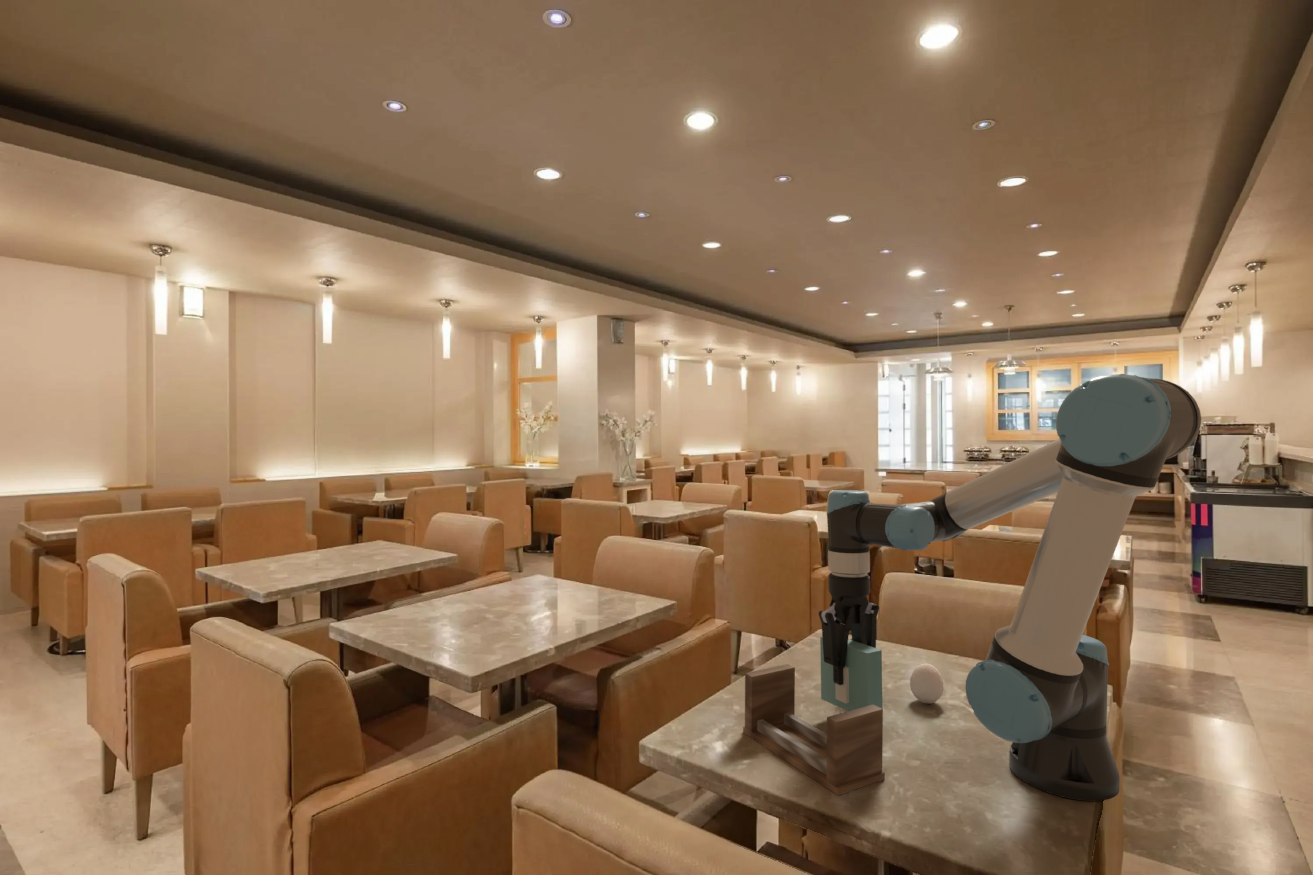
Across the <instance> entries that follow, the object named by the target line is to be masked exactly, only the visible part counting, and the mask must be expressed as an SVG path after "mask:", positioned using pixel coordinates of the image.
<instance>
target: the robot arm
mask: <svg viewBox="0 0 1313 875" xmlns="http://www.w3.org/2000/svg"><path fill="white" fill-rule="evenodd" d="M1201 425H1202V414H1201V410H1200V407H1199V404H1198V402H1197V401H1196V399H1195V397H1193V395H1192V394H1191V393H1190V392H1189V391H1188V390H1186V389H1185V388H1183V387H1182V386H1181V385H1179V384H1176V383H1174V382H1171V381H1169V380H1165V379H1159V378H1148V377H1145V376H1140V375H1139V376H1138V375H1136V374H1133V375H1132V374H1124V373H1117V374H1110V375H1102V376H1097V377H1094V378H1092V379H1088V380H1087V381H1084V382H1083V383H1080V384H1079V385H1077V386H1076V387H1075V388H1073V389H1072V390H1071V392H1069V393H1068V394H1067V396H1066V397H1065V398H1064V400H1063V401H1062V402H1061V404H1060V406H1059V408H1058V410H1057V415H1056V420H1055V428H1056V434H1057V436H1058V439H1055V440H1053V441H1052V442H1050V443H1047V444H1045V445H1042V446H1041V447H1039V448H1037V449H1035V450H1033V451H1030V452H1029V453H1026V454H1025V455H1024V454H1023V455H1022V456H1020V457H1018V458H1016V459H1014V460H1012V461H1009V462H1007V463H1005V464H1003V465H1001V466H1000V467H997V468H995V469H993V470H991V471H989V472H986V473H984V474H982V475H980V476H979V477H976V478H973V479H972V480H970V481H967V482H965V483H963V484H962V485H959V486H958V487H955V488H953V489H951V490H948V491H947V492H946V493H943V494H941V495H938V496H936V497H934V498H932V499H930V500H927V501H918V502H909V503H908V502H907V503H899V504H898V503H897V504H896V503H895V504H888V503H887V504H886V503H875V502H874V503H873V502H870V501H871V500H870V497H869V493H868V492H867V491H863V490H856V489H855V490H854V489H853V490H850V489H848V490H847V489H845V490H844V489H842V490H840V489H839V490H833V491H831V492H829V493H828V496H827V507H826V508H827V511H826V521H827V539H828V544H827V549H828V552H827V561H828V562H827V563H828V564H827V567H828V571H829V574H828V576H827V577H828V578H827V579H828V583H827V584H828V585H827V586H828V593H829V594H830V597H831V599H830V603H829V607H828V608H827V609H825V610H819V612H818V616H819V619H820V623H821V632H822V634H821V635H822V638H823V654H824V662H826V663H828V664H831V665H833V681H834V683H835V693H836V699H837V700H839V701H841V702H843V703H846V704H847V703H849V667H846V666H845V663H846V654H847V645H848V639H849V636H850V634H851V639H852V640H853V641H856V642H859V643H862V644H865V645H868V646H871V647H874V648H877V617H878V614H879V610H880V606H879V604H876V603H872V602H869V598H868V596H869V595H870V594H871V576H870V575H869V573H870V572H871V554H870V552H871V551H870V545H871V546H872V545H873V546H880V547H886V548H891V549H892V548H894V549H898V550H899V549H900V550H901V551H924V550H925V549H926V548H928V546H929V545H930V544H932V543H934V542H948V541H950V540H954V539H956V538H959V537H961V536H962V535H964V533H965V532H967V531H969V530H971V529H973V528H976V527H978V526H980V525H982V524H984V523H985V524H986V523H987V522H991V521H992V520H995V519H996V518H999V517H1002V516H1004V515H1007V514H1009V513H1011V512H1014V511H1017V510H1018V509H1021V508H1024V507H1026V506H1028V505H1031V504H1034V503H1036V502H1038V501H1041V500H1043V499H1045V498H1047V497H1050V496H1053V495H1056V496H1055V499H1054V502H1053V504H1052V507H1051V511H1050V513H1049V516H1048V519H1047V521H1046V523H1045V524H1046V525H1045V526H1044V527H1045V528H1044V530H1043V533H1042V535H1041V539H1040V541H1039V544H1038V546H1037V549H1036V552H1035V555H1034V558H1033V562H1032V563H1031V567H1030V570H1029V572H1028V575H1027V578H1026V581H1025V583H1024V586H1023V590H1022V591H1021V594H1020V598H1019V600H1018V603H1017V605H1016V606H1017V607H1016V609H1015V612H1014V615H1013V617H1012V620H1011V623H1010V625H1009V624H1008V625H1006V626H1004V627H999V628H998V629H997V630H996V631H995V634H994V636H993V639H992V641H991V644H990V646H989V650H988V652H987V655H986V657H985V660H982V661H978V663H976V664H975V665H974V666H973V667H972V668H971V669H970V671H969V672H968V674H967V675H966V676H967V677H966V679H965V694H966V699H967V701H968V702H967V703H968V705H969V706H971V709H972V711H973V714H974V716H975V717H976V718H977V720H978V721H979V722H980V724H982V726H984V727H985V729H986V730H988V731H989V732H991V733H992V734H993V735H995V736H996V737H998V738H1000V739H1002V740H1004V741H1007V742H1011V745H1010V748H1009V752H1008V753H1009V755H1008V756H1009V759H1008V761H1009V763H1008V764H1009V768H1010V770H1011V771H1012V772H1013V774H1014V775H1016V776H1017V777H1018V778H1019V779H1020V780H1021V781H1023V782H1025V783H1027V784H1028V785H1030V786H1032V787H1034V788H1036V789H1039V790H1040V791H1043V792H1046V793H1048V794H1052V795H1055V796H1059V797H1063V798H1067V799H1072V800H1077V801H1088V802H1090V801H1091V802H1099V801H1106V800H1107V801H1108V800H1110V799H1113V798H1115V797H1116V796H1118V794H1119V793H1120V778H1121V777H1120V772H1119V769H1118V766H1117V764H1116V760H1115V758H1114V755H1113V753H1112V749H1111V747H1110V744H1109V740H1108V737H1107V724H1108V722H1107V720H1108V677H1109V674H1108V673H1109V672H1108V670H1109V668H1108V667H1110V663H1109V662H1108V649H1107V647H1106V645H1105V644H1104V643H1103V642H1102V641H1101V640H1099V639H1097V638H1095V637H1091V636H1089V635H1085V634H1084V631H1085V629H1086V627H1087V623H1088V622H1089V618H1090V616H1091V613H1092V611H1093V608H1094V606H1095V603H1096V600H1097V598H1098V595H1099V594H1100V593H1099V592H1100V590H1101V588H1102V585H1103V582H1104V579H1105V577H1106V574H1107V572H1108V569H1109V566H1110V564H1111V563H1112V562H1111V561H1112V559H1113V556H1114V553H1115V551H1116V550H1117V549H1116V548H1117V547H1118V543H1119V542H1120V541H1119V540H1120V539H1121V536H1122V533H1123V530H1124V528H1125V526H1126V523H1127V521H1128V517H1129V515H1130V512H1131V510H1132V507H1133V504H1134V502H1135V499H1136V498H1137V497H1138V496H1140V495H1142V494H1144V493H1147V492H1150V491H1153V490H1154V489H1155V487H1156V485H1157V482H1158V480H1159V477H1160V475H1161V473H1162V470H1163V466H1164V464H1165V462H1166V460H1168V459H1172V458H1174V457H1176V456H1177V455H1180V454H1181V453H1183V452H1184V451H1185V450H1186V449H1189V447H1190V446H1191V445H1192V444H1193V442H1194V441H1195V440H1196V438H1197V437H1198V435H1199V433H1200V430H1201V427H1202V426H1201ZM838 659H839V660H838Z"/></svg>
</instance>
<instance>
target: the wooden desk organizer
mask: <svg viewBox="0 0 1313 875" xmlns="http://www.w3.org/2000/svg"><path fill="white" fill-rule="evenodd" d="M795 675H796V667H795V666H793V665H791V664H788V663H787V664H783V665H777V666H773V667H768V668H763V669H759V670H758V669H757V670H755V671H750V672H745V674H744V676H745V677H744V726H742V732H743V733H744V734H745V735H747V736H748V737H750V738H751V739H753V740H754V741H756V742H757V743H758V744H760V745H762V746H763V747H765V748H766V749H768V750H769V751H771V752H772V753H774V754H775V755H776V756H778V757H780V758H781V759H783V760H784V761H785V762H787V763H788V764H790V765H792V766H793V767H795V768H797V769H798V770H799V771H801V772H802V773H804V774H805V775H806V776H808V777H810V778H811V779H813V780H814V781H816V782H817V783H818V784H820V785H822V786H823V787H825V788H826V789H828V790H829V791H831V792H832V793H834V795H836V796H841V795H843V794H846V793H850V792H852V791H855V790H857V789H860V788H864V787H866V786H868V785H872V784H876V783H877V782H880V781H883V780H885V776H886V774H885V772H884V771H883V746H884V745H883V741H884V740H883V736H884V735H883V734H884V733H883V728H884V723H883V722H884V721H883V720H884V710H883V707H882V708H880V707H877V706H875V705H869V706H866V707H862V708H858V709H855V710H851V711H845V712H841V713H837V714H833V715H830V716H827V717H826V732H825V731H822V730H821V729H819V728H817V727H816V726H814V725H812V724H810V723H809V722H807V721H805V720H804V719H802V718H799V717H798V716H797V715H795V706H796V704H795V702H796V700H795V699H796V698H795V697H796V691H795V689H796V688H795V687H796V686H795V684H796V678H795V677H796V676H795Z"/></svg>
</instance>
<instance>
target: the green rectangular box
mask: <svg viewBox="0 0 1313 875" xmlns="http://www.w3.org/2000/svg"><path fill="white" fill-rule="evenodd" d="M819 638H820V640H819V642H820V699H821V700H822V701H824V702H827V703H829V704H831V705H833V706H836V707H838V708H840V709H842V710H844V711H845V712H848V711H851V710H855V709H858V708H862V707H866V706H869V705H875V706H877V707H880V708H882V709H883V667H882V666H883V665H882V664H883V662H882V661H883V659H882V658H883V657H882V654H883V652H882V649H881V648H880V649H879V648H877V647H876V648H874V647H871V646H868V645H865V644H862V643H859V642H856V641H853V640H850V639H851V638H850V639H849V638H848V645H847V654H846V663H845V666H846V667H849V703H847V704H846V703H843V702H841V701H839V700H837V699H836V693H835V683H834V681H833V665H831V664H828V663H826V662H824V654H823V638H822V636H820V637H819ZM838 660H839V659H838Z"/></svg>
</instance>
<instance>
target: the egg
mask: <svg viewBox="0 0 1313 875" xmlns="http://www.w3.org/2000/svg"><path fill="white" fill-rule="evenodd" d="M909 686H910V691H911V692H912V694H913V696H914V697H915V698H916V699H917V700H918V701H919V702H920V703H923V704H926V705H927V704H934V703H936V702H937V701H938V700H940V699H941V698H942V695H943V693H944V689H945V688H944V680H943V677H942V675H941V673H940V671H939V670H938V669H937V668H936V667H935V666H934V665H932V664H930V663H928V662H927V663H921V664H919V665H917V666H916V667H915V668H914V669H913V671H912V673H911V675H910V678H909Z"/></svg>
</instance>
